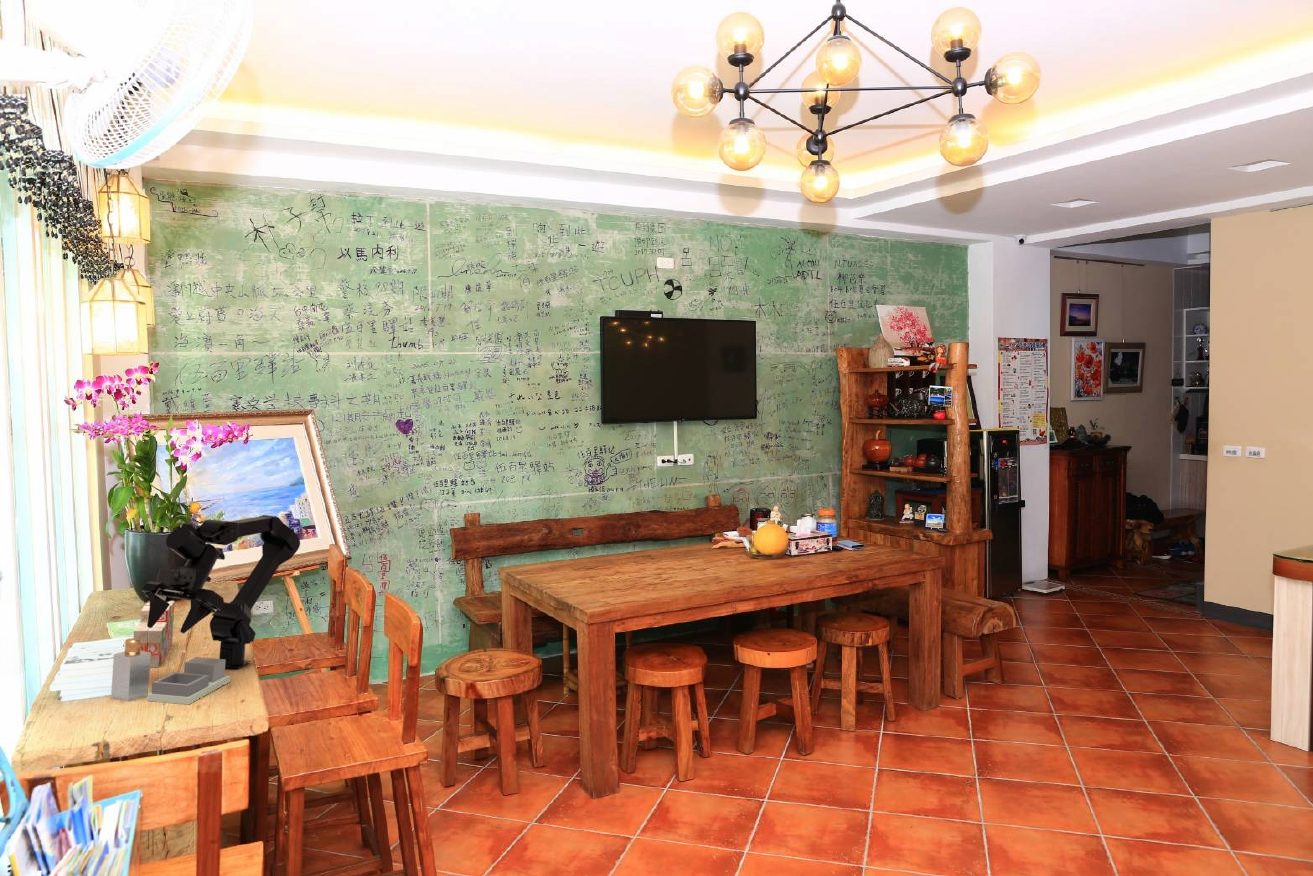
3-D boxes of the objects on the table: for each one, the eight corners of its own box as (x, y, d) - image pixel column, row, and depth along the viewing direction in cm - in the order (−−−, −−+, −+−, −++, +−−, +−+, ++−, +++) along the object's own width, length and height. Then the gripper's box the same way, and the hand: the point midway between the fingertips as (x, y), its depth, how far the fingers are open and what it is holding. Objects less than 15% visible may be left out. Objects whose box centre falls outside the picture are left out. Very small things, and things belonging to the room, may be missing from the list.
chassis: (191, 679, 211) (193, 656, 211) (230, 682, 211) (231, 659, 211) (147, 700, 194) (148, 675, 194) (188, 704, 194) (190, 679, 194)
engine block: (131, 691, 200) (134, 636, 200) (147, 695, 198) (151, 639, 198) (111, 697, 195) (114, 640, 195) (128, 701, 193) (131, 644, 193)
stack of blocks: (159, 668, 218) (162, 618, 218) (130, 668, 216) (133, 618, 216) (172, 645, 238) (175, 600, 238) (145, 646, 236) (148, 600, 236)
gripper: (144, 548, 207) (108, 610, 198) (210, 557, 202) (177, 621, 194) (173, 569, 216) (141, 629, 208) (238, 578, 211) (207, 640, 203)
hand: (165, 630), depth 203 cm, fingers open, 9 cm apart
